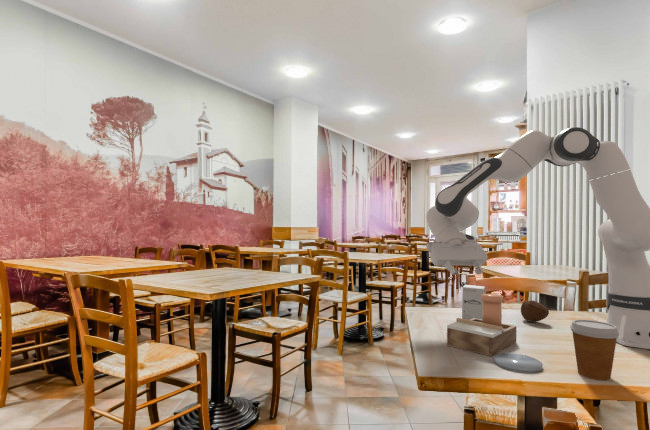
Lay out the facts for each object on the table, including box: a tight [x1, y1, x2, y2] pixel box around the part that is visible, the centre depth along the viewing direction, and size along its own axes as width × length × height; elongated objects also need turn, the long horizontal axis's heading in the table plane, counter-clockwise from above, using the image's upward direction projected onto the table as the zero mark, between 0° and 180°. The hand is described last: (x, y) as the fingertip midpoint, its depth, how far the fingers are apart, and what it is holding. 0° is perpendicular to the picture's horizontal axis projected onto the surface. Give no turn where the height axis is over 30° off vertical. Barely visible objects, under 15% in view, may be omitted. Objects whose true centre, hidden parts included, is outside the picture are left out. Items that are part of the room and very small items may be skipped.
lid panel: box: [446, 317, 502, 338], centre depth 108 cm, size 13×7×2 cm, turn 45°
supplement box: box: [461, 284, 486, 320], centre depth 141 cm, size 7×7×13 cm
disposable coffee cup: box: [569, 319, 619, 381], centre depth 90 cm, size 10×10×12 cm
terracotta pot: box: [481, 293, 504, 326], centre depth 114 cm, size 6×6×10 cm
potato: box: [520, 299, 550, 323], centre depth 140 cm, size 7×10×8 cm
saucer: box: [493, 352, 543, 374], centre depth 96 cm, size 11×11×1 cm
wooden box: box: [446, 318, 517, 358], centre depth 112 cm, size 13×18×5 cm
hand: (467, 273), depth 126 cm, fingers open, 8 cm apart
